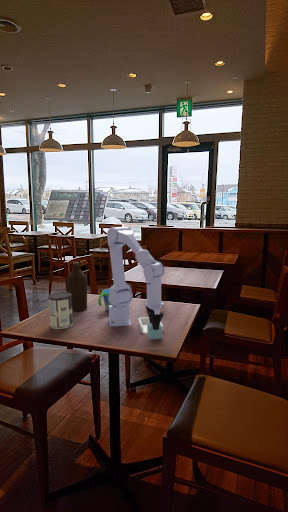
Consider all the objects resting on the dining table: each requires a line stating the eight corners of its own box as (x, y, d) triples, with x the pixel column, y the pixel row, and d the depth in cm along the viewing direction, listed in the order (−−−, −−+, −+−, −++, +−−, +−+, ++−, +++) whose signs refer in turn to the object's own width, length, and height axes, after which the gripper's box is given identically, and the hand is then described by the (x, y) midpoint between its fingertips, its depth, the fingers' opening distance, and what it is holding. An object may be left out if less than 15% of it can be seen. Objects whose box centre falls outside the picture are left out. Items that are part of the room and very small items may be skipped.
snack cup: (102, 314, 155) (102, 294, 154) (95, 309, 165) (94, 290, 163) (130, 309, 163) (130, 290, 162) (121, 304, 172) (121, 286, 171)
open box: (141, 334, 130) (141, 327, 130) (138, 324, 142) (138, 317, 141) (163, 332, 131) (163, 325, 131) (157, 322, 143) (157, 316, 143)
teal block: (149, 339, 123) (149, 327, 123) (147, 334, 128) (147, 323, 128) (161, 338, 124) (161, 326, 123) (159, 333, 129) (159, 322, 128)
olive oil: (92, 309, 165) (90, 262, 161) (74, 313, 158) (72, 264, 154) (81, 304, 173) (79, 260, 169) (64, 309, 166) (61, 262, 162)
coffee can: (62, 319, 149) (61, 290, 147) (77, 323, 143) (76, 293, 141) (44, 326, 141) (43, 295, 139) (60, 331, 135) (58, 299, 133)
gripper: (167, 297, 117) (167, 332, 119) (160, 288, 131) (160, 319, 133) (149, 298, 116) (149, 333, 118) (143, 289, 130) (144, 320, 132)
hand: (154, 326), depth 126 cm, fingers open, 7 cm apart
